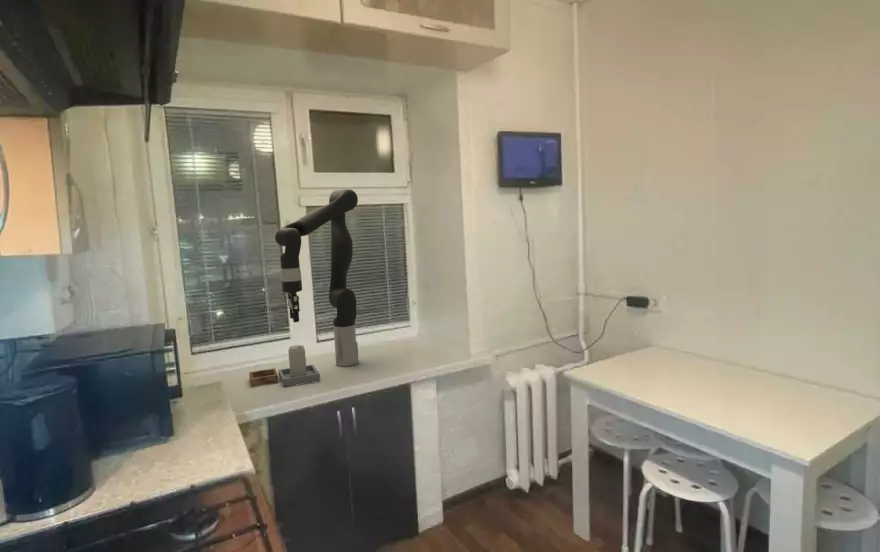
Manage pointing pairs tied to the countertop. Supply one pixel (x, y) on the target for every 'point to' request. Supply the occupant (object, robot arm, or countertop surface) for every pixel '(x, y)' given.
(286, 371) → the tray
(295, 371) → the beverage can
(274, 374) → the collar
